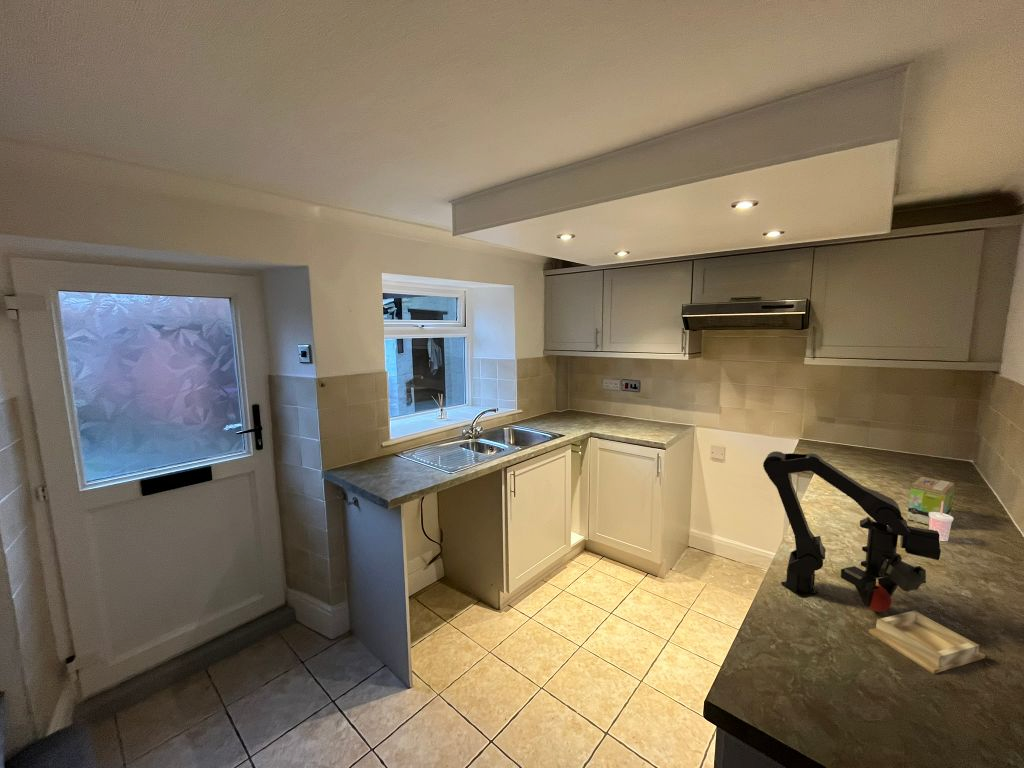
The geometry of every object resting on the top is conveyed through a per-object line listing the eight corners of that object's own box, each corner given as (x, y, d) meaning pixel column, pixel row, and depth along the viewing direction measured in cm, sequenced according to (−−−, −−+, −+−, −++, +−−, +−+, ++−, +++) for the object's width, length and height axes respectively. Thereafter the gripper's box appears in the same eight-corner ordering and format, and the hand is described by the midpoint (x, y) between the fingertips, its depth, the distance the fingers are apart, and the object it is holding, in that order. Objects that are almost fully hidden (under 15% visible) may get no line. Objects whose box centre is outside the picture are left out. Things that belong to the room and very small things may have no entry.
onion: (876, 603, 114) (879, 575, 113) (896, 618, 109) (899, 588, 108) (855, 604, 114) (857, 576, 113) (873, 618, 108) (876, 589, 107)
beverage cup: (955, 545, 145) (960, 505, 143) (934, 543, 146) (938, 504, 144) (941, 536, 151) (946, 498, 149) (921, 535, 152) (925, 497, 150)
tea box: (942, 530, 156) (947, 490, 154) (905, 520, 164) (909, 483, 162) (951, 519, 165) (955, 482, 163) (915, 510, 173) (919, 475, 171)
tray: (933, 673, 91) (935, 659, 91) (868, 632, 104) (870, 620, 103) (984, 658, 95) (986, 644, 95) (916, 620, 108) (917, 608, 107)
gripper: (889, 569, 99) (883, 631, 101) (946, 557, 104) (939, 617, 106) (841, 546, 110) (836, 603, 112) (894, 536, 115) (889, 591, 117)
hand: (875, 603), depth 111 cm, fingers closed on onion, 6 cm apart
